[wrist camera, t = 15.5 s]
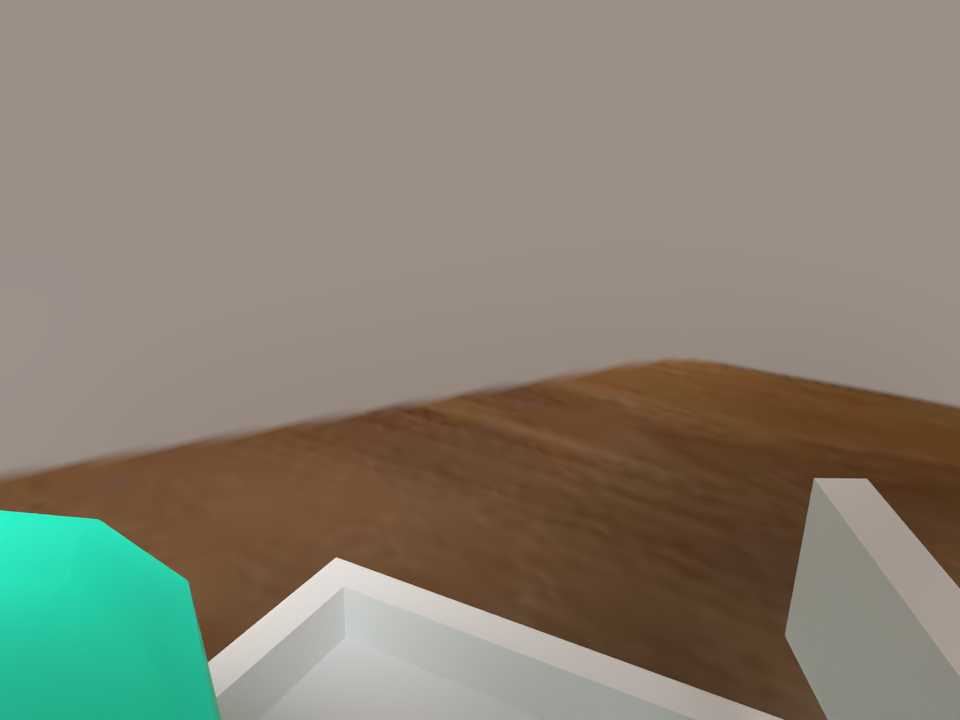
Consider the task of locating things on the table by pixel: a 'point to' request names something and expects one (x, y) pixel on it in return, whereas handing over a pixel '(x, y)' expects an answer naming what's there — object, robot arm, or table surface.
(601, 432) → the table surface
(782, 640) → the table surface
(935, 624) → the robot arm
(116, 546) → the candle
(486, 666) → the tray
